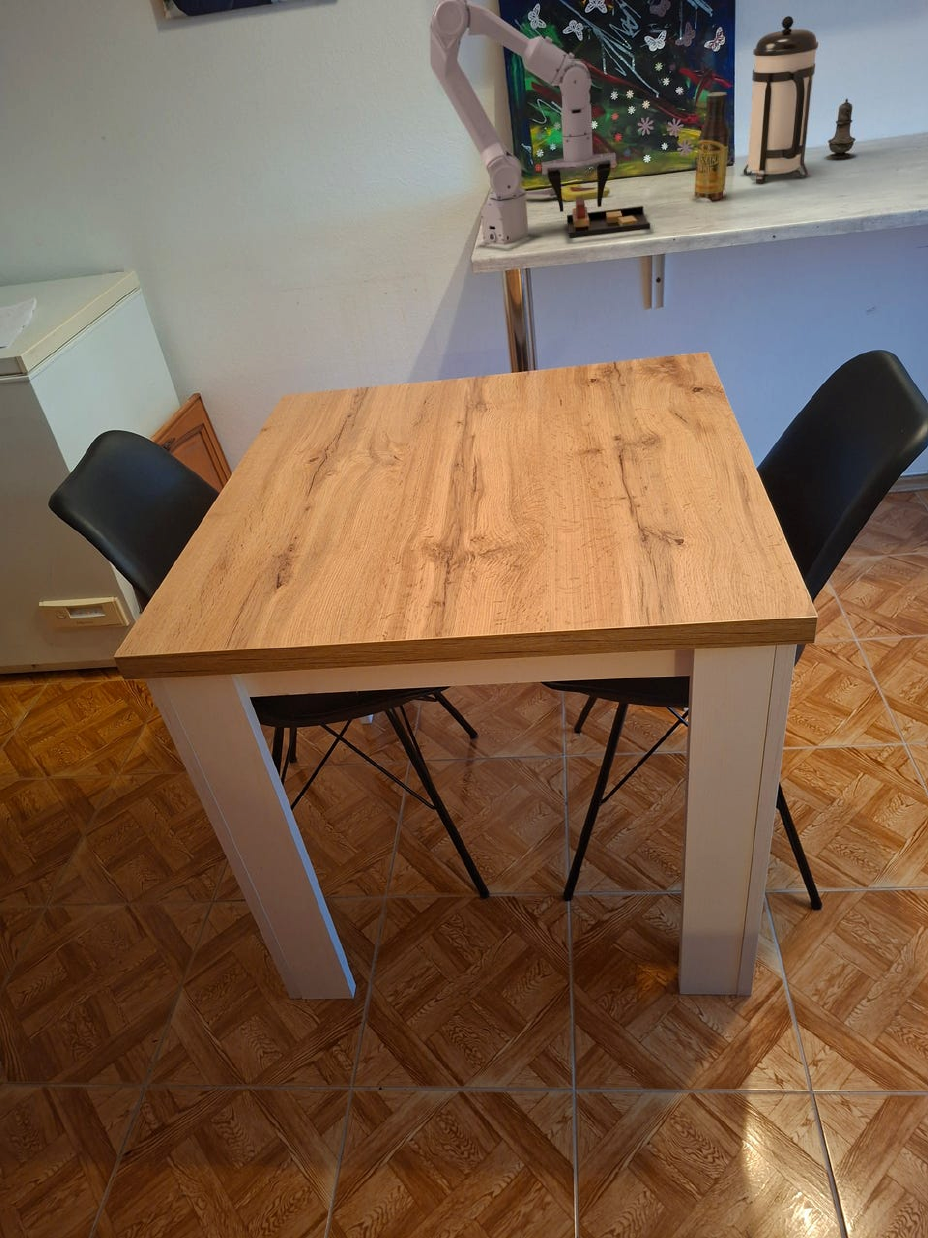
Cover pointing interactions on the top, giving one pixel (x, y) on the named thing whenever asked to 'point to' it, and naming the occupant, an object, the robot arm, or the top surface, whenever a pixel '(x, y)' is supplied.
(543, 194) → the yellow scissors
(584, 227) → the brush
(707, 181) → the brown glass bottle
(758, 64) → the coffee press
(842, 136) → the salt shaker
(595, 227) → the tray
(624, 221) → the cracker piece
